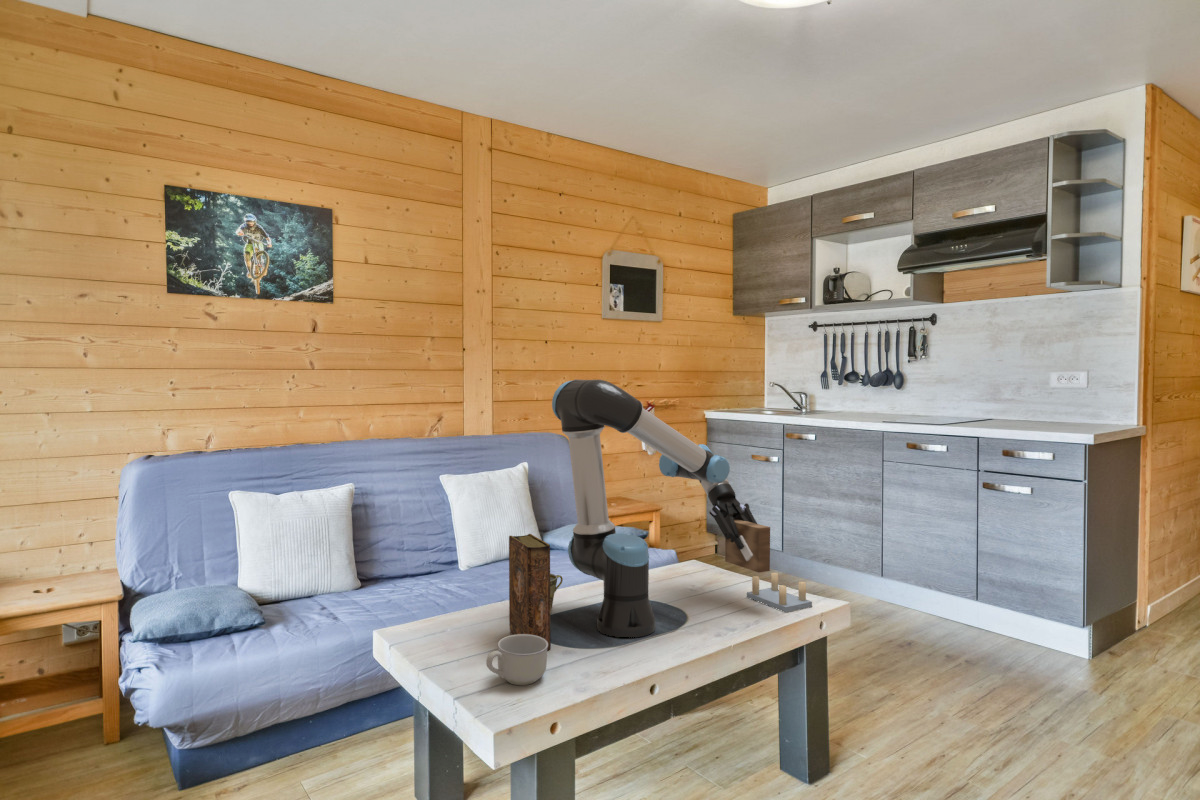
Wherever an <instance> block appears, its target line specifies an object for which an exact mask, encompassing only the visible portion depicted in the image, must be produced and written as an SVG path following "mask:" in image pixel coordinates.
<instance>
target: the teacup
mask: <svg viewBox="0 0 1200 800" xmlns="http://www.w3.org/2000/svg"><path fill="white" fill-rule="evenodd" d="M547 648H548V642H547V641H546V640H545V639H544V638H541V637H539V636H535V635H529V634H518V635H512V634H511V635H508V636H505V637H503V638H501V639H499V641H498V642H497V650H494V651H491V652H490V653H489V654H488V656H487V657H486V668H488V670H489V671H490V672H492V673H494V674H496V675H498V677H499V678H503V679H504V680H506V682H508V683H509V684H512V685H516V686H526V685H527V686H529V685H531V684H533V683H535V682H537V681H538V680H540V679H541V678H542V677H543V675H544V674H545V672H546V669H547V663H548V652H547ZM496 657H497V668H495V667H494V665H493V660H494V659H495V658H496Z"/></svg>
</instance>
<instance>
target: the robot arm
mask: <svg viewBox="0 0 1200 800" xmlns="http://www.w3.org/2000/svg"><path fill="white" fill-rule="evenodd" d="M551 408H552V412H553V414H554V416H555V417H556V419H558V420H559V421H560V424H561V431H562V433H563V434H564V435H565V436H566V437H568V446H569V455H570V463H571V472H572V482H573V483H572V484H573V491H574V500H575V502H574V503H575V509H576V518H577V523H576V525H575V526H574V527H573V529H572V533H573V534H572V537H571V539H570V540H569V542H568V547H567V554H568V558H569V561H570V562H571V565H572V566H573V567H574V568H575V569H576V570H578V571H579V572H581V573H582V574H585V575H588V576H591V577H594V578H596V579H599V580H601V581H603V599H602V603H601V605H600V609H599V612H598V615H597V618H596V626H597V627H596V628H597V631H598V630H599V631H600V633H601V634H602V635H605V634H606V635H605V636H608V635H609V636H608V637H612V636H615V637H614V638H619V637H629V638H628V639H633V638H634V637H635V638H642V637H645V636H648V635H650V634H652V633H654V632H655V631H656V617H655V614H654V611H653V608H652V605H651V601H650V598H649V585H650V583H649V580H650V579H649V577H650V576H649V570H650V568H649V567H650V564H649V563H650V553H649V547H648V543H647V541H646V540H645V539H644V538H642V537H640V536H638V535H635V534H628V533H624V532H623V533H619V532H618V533H617V532H616V526H615V525H616V524H615V523H614V522H612V521H611V520H610V519H609V508H608V499H607V491H606V490H607V489H606V483H605V482H606V481H605V471H604V463H603V454H602V453H603V451H602V443H601V433H602V431H603V430H604V429H605V427H610V428H611V429H614V430H616V431H617V432H619V433H621V434H625V433H627V434H629V435H631V436H632V437H634V438H636V439H638V440H639V441H640V442H642V443H644V444H645V445H647V446H648V447H650V448H651V449H653V450H654V451H656V452H658V453H659V454H660V457H659V461H658V468H659V471H660V473H661V474H662V475H663V476H664V477H671V478H676V477H677V478H683V479H690V480H697V481H699V483H700V485H701V487H702V489H703V490H704V492H705V494H706V496H707V498H708V499H709V502H710V503H711V505H712V508H711V509H710V511H709V512H708V513H709V515H710V516H711V517H713V519H714V520H715V522H716V525H718V528H719V529H720V531H721V533H722V534H723V536H724V538H726V539H731V540H730V541H731V542H735V544H736V546H737V548H738V549H739V550H741V552H742V554H743V556H744V558H745V559H746V561H749V560H750V558H751V557H752V556H753V554H752V552H751V550H750V549H749V547H748V545H747V543H746V541H745V540H744V538H743V536H740V537H739V533H738V530H737V527H736V524H735V522H734V519H737V520H742V521H747V522H752V523H756V524H758V522H757V521H756V519H755V517H754V515H753V514H752V512H751V510H750V505H749V503H745V504H743V503H742V504H741V503H740V501H739V500H738V499H737V497H736V496H737V495H736V492H735V490H734V489H733V487H732V485H731V484H730V482H729V480H728V477H729V474H730V468H731V467H730V462H729V461H728V460H727V458H726V457H724V456H721V455H718V454H714V453H713V452H712V451H711V450H710V448H709V447H708V446H707V445H706V444H702V443H701V444H700V443H699V444H696V443H695V442H694V441H692V440H691V439H689V438H688V437H686V436H685V435H684V434H682V433H681V432H679V431H677V430H676V429H675V428H673V427H672V426H670V425H669V424H667V423H665V422H664V421H663V420H661V419H660V418H658V417H657V416H656V415H654V414H653V413H651V412H650V411H648V410H646V408H644V405H643V403H642V401H640V400H639V399H637V398H636V397H634V396H633V395H631V394H630V393H629V392H627V391H625V389H623V388H621V387H619V386H617V385H616V384H614V383H611V382H610V381H609V380H608V381H607V380H604V379H573V380H567V381H565V382H563V383H562V384H560V385H559V386H558V387H557V389H556V390H555V391H554V393H553V396H552V401H551ZM727 532H728V533H727ZM654 630H655V631H654ZM599 631H598V632H599ZM630 637H631V638H630ZM632 637H633V638H632ZM635 638H634V639H635Z"/></svg>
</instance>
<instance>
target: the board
mask: <svg viewBox="0 0 1200 800" xmlns="http://www.w3.org/2000/svg"><path fill="white" fill-rule="evenodd" d="M734 522H735V524H736V527H737V530H738V533H739V537H740V536H743V538H744V540H745V541H746V543H747V545H748V547H749V549H750V550H751V552H752V554H753V556H752V557H751V558H750V560H749V561H746V559H745V558H744V556H743V554H742V552H741V550H739V549H738V548H737V546H736V544H735V542H731V541H730V540H731V539H726V538H725V537H724V538H725V543H724V544H725V547H724V559H725V561H724V562H726V563H729V564H731V565H735V566H738V567H741V568H744V569H746V570H749V571H753V572H756V573H764V572H770V571H771V565H770V564H771V527H770V526H767V525H763V524H759V523H757V524H756V523H752V522H747V521H742V520H737V519H734ZM727 533H728V532H727Z"/></svg>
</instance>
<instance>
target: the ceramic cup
mask: <svg viewBox="0 0 1200 800" xmlns="http://www.w3.org/2000/svg"><path fill="white" fill-rule="evenodd" d="M559 578H560V582H559V583H558V584H557V582H558V579H559ZM563 580H564V579H563V577H562V575H559V574H555V573H551V572H550V615H551V613H552V611H553V603H554V598H555V597H554V596H555V593H556V592H557V590H558V589H559V588H560V586H561V585H562V583H563Z"/></svg>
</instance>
